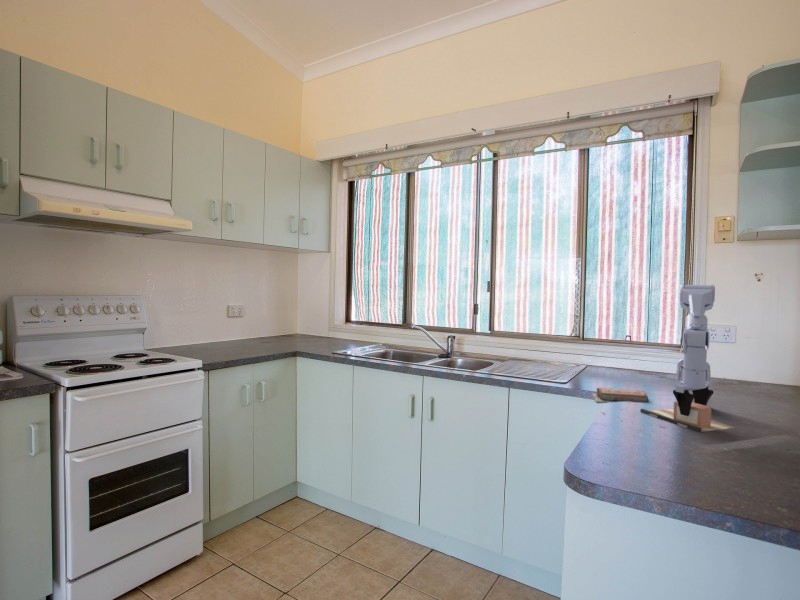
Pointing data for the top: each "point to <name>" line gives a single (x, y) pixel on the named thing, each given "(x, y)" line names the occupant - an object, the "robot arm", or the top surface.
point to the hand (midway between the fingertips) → (692, 413)
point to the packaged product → (618, 395)
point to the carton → (694, 415)
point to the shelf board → (669, 415)
